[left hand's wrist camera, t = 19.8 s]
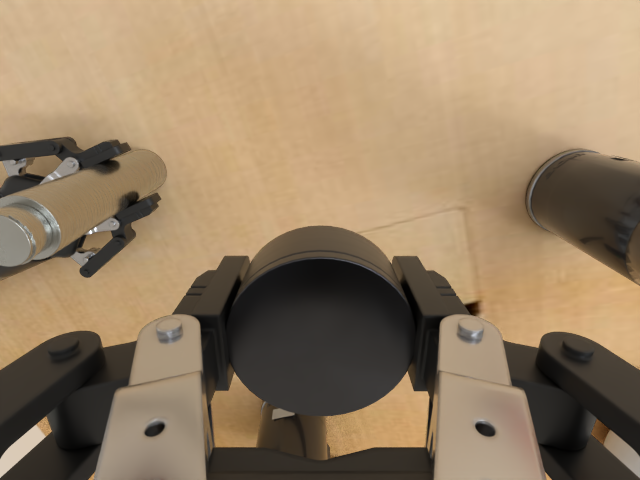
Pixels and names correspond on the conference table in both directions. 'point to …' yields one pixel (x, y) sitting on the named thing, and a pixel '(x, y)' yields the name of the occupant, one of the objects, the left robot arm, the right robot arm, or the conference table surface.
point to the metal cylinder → (73, 205)
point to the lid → (320, 323)
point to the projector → (623, 452)
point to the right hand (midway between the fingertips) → (140, 173)
